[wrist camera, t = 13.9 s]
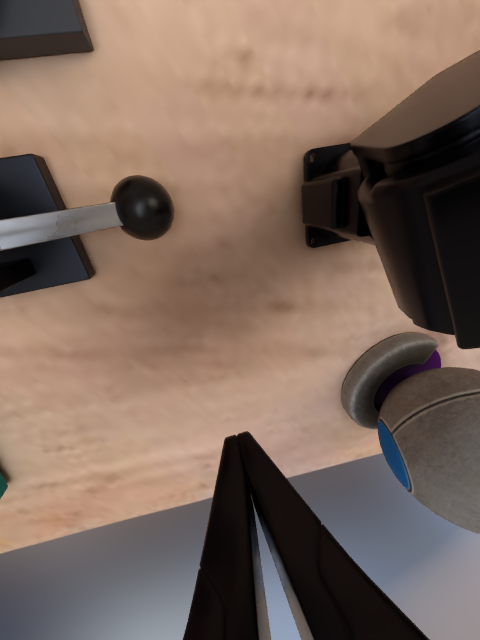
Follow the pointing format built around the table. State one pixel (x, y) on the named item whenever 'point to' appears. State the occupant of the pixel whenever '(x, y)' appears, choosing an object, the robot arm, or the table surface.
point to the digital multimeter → (2, 485)
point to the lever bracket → (41, 258)
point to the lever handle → (98, 216)
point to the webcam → (422, 422)
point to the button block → (42, 28)
